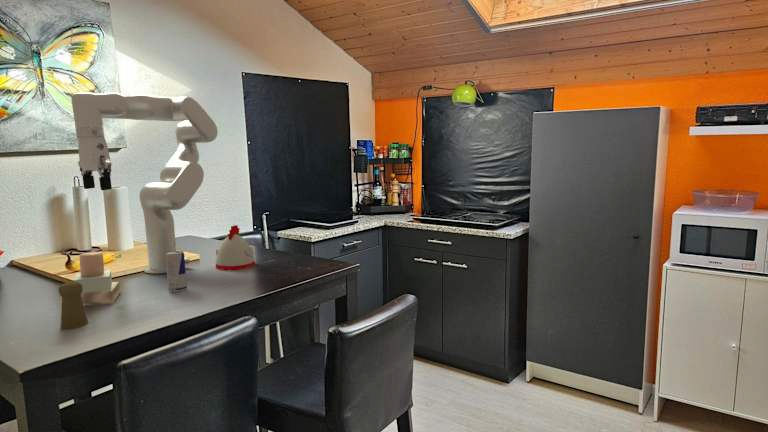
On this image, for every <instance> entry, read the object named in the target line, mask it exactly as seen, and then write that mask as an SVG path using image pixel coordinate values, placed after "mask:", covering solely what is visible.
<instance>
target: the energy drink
mask: <svg viewBox="0 0 768 432" xmlns="http://www.w3.org/2000/svg"><path fill="white" fill-rule="evenodd" d="M185 258H186V257H185V253H184V250H176V251H170V252H167V253H166V267H167V273H166V277H167V287H168V288H167V289H168V290H167V291H168V292H170V293H180V292H184V291H186V290H187V288H188V285H187V283H188V282H187V275H186V274H187V273H186V264H185Z"/></svg>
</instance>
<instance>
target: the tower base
mask: <svg viewBox="0 0 768 432" xmlns="http://www.w3.org/2000/svg"><path fill="white" fill-rule="evenodd" d="M119 293H121V288H120V281H112V286H111V290H105V291H97V292H89V293H81V298H82V301H83V305H84V307H86V306H85V305H87V306H95V305H97V306H98V305H105V304H107V303H108V304H113V303H114V302H115V301H116V299H117V298H118V297H119V295H120V294H119ZM114 300H115V301H114Z"/></svg>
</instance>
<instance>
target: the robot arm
mask: <svg viewBox="0 0 768 432" xmlns="http://www.w3.org/2000/svg"><path fill="white" fill-rule="evenodd" d="M70 100H71V105H72V106H71V107H72V113H73V119H74V127H75V135H76V139H77V140H78V141H77V142H78V145H77V147H78V148H77V149H78V158H79V159H78V161H77V163H78V167H79V171H80V172H81V173H80V175H81V177H82V183H83V189H85V190H88V189H94V188H96V184H95V177H94V175H93V172H96V171H97V173H98V175H99V176H100V177H99V176H98V177H99V178H98V179H99V186H100V190H101V191H107V190H112V189H113V186H112V181H111V176H112V173H111V172H112V162H111V157H110V151H109V148H108V143H107V141H106V138H105V131H104V123H103V119H114V120H116V119H117V120H118V119H119V120H120V119H122V120H135V121H158V122H159V121H161V122H179V123H178V124H177V126H176V128H175V137H176V141H177V149H176V151H175V152H174V154H173V155H172V157H170V159H169V160H168V161H167V163H166V164H165V165H164V166H163V167H162V169H161V171H160V174H159V179H160V181H161V182H160V181H153V182H149V183H147V184H144V185H143V187H142V188H141V189H140V191H139V202H140V205H141V208H142V211H143V216H144V217H143V218H144V224H145V228H144V229H145V238H146V241H145V242H146V251H147V262H148V263H147V264H148V266H149V267H147V266H145V267H146V268H145V267H144V269H143V270H144V273H146V274H167V267H166V253H167V252H170V251H177V245H176V244H177V243H176V235H175V234H176V232H175V221H174V216H173V214H172V212H171V211H179V210H181V209H184V208H185V206H187V205H188V204H189V202H190V201H191V200H192V198H193V197H194V195H196V193H197V191H198V190H199V188H200V187H201V186H202V184H203V181H204V176H205V175H204V169H203V167H202V166H201V164H199V163H198V162H199V160H200V153H199V151H198V147H197V143H198V144H199V143H200V144H201V143H202V144H204V143H211V142H214V141H215V140H216V139H217V136H218V132H219V131H218V127H217V124H216V123H215V121H214V120H213V119H212V118H211V116H210V115H209V114H208V113H207V112H206V110H205V109H204V108H203V107H202V106H201V104H200V103H199V102H198V101H197V100H195V99H194V98H193V97H191V96H176V97H173V96H171V97H170V96H160V95H159V96H158V95H151V94H136V95H135V94H134V95H122V94H121V93H119V92H104V93H103V92H102V93H100V92H99V93H94V92H76V93H73V94H72V95H71V99H70ZM186 264H191V259H190V257H185V265H186Z"/></svg>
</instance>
